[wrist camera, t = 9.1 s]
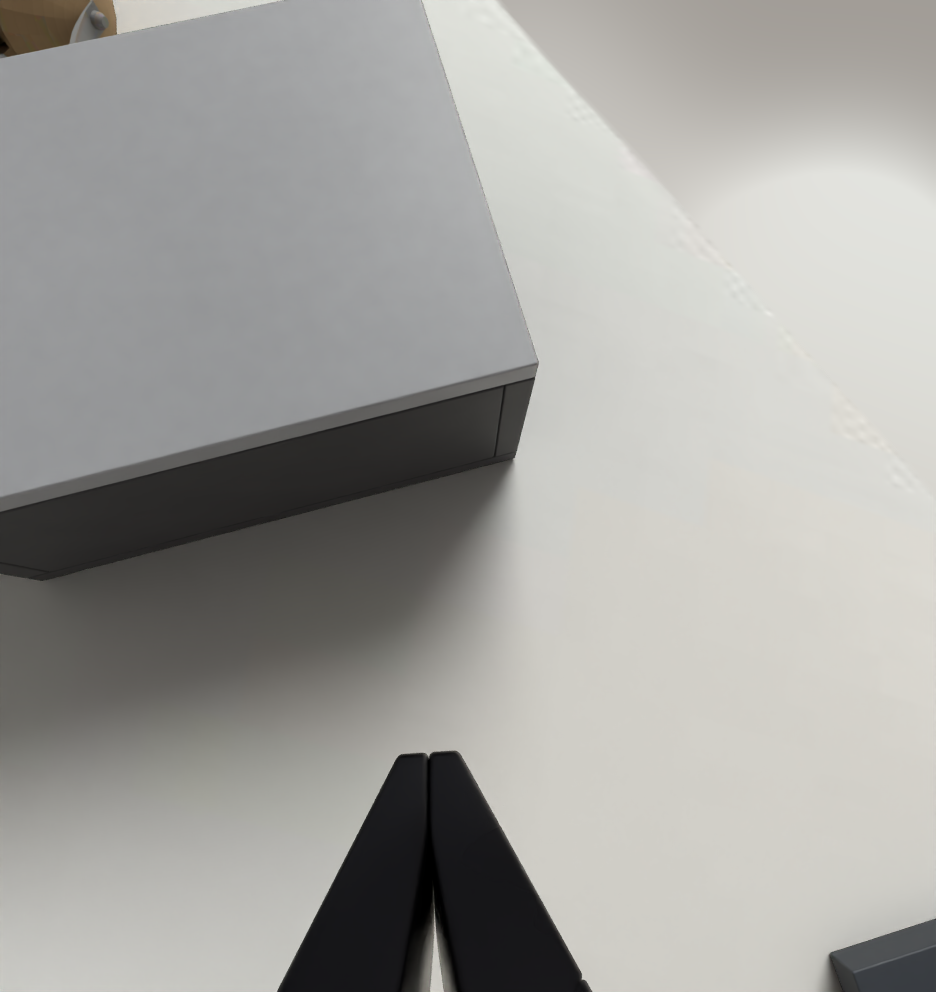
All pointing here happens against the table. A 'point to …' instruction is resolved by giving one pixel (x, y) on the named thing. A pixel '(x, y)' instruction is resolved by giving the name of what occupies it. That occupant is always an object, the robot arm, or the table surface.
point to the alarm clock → (52, 24)
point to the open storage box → (262, 483)
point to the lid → (237, 242)
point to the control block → (890, 962)
